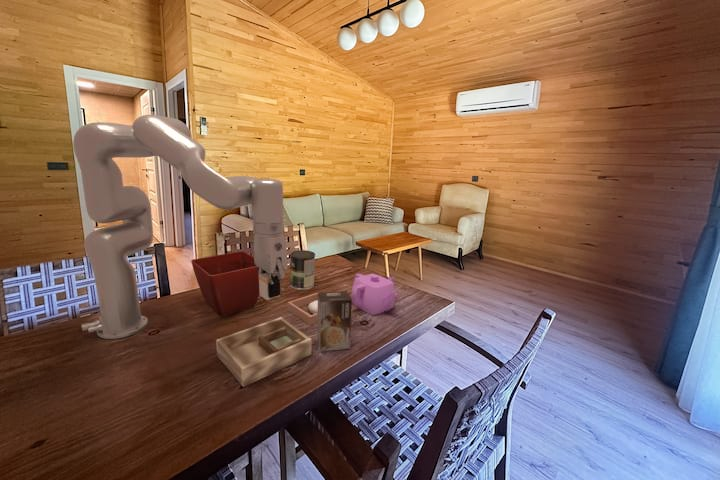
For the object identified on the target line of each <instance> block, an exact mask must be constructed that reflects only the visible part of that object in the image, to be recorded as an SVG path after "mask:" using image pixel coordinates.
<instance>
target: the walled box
mask: <svg viewBox="0 0 720 480" xmlns="http://www.w3.org/2000/svg"><path fill="white" fill-rule="evenodd" d="M312 342H313V341H312V338H310V336H307V334H305V333H304V332H303V331H301V330H300V329H298V328H296V327H295V326H294V325H293V324H291V322H288V321H287V320H286V319H285V318H283V317H282V316H279V317H278V318H277V317H276V318H274V319H272V320H269V321H266V322H263V323H260V324H257V325H254V326H251V327H248V328H246V329H243V330H240V331H237V332H234V333H231V334H229V335H226V336H222V337H220V338H217V339H215V344H216V356H217V357H218V359H219V360H220V361H221V362H222V363H223V365H225V367H226V369H227V370H229V372H230V373H231V375H232V376H233V377H234V378H235V379H236V380H237V382H238V383H239V384H240V385H241V386H242V387H243V388H245V387H247V386H249V385H251V384H253V383H255V382H258V381H259V380H261V379H264V378H265V377H268V376H270V375H272V374H274V373H276V372H279V371H281V370H283V369H285V368H287V367H289V366H291V365H293V364H295V363H297V362H300V361H301V360H303V359H305V358H308V357H309V356H312V344H313V343H312Z"/></svg>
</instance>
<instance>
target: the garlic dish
mask: <svg viewBox="0 0 720 480" xmlns="http://www.w3.org/2000/svg"><path fill="white" fill-rule="evenodd" d="M318 293H319V292H316V293H312V294H309V295H307V296H306V295H305V296H303V297H300V298H297V299H294V300H290V301H288V302H287V311H289V312H290V313H292V314H293V315H295V316H296V317H297V318H299V319H301V320H302V321H303V322H305V323H306V324H307V325H309V326H312V325H314V324H317V318H318V313H316V314H313V313H312V314H309V313H308V312H306V311H304V309H301V308H300V307H304V306H306V305H309V304H310V303H312V302H314V301H316V300H318Z"/></svg>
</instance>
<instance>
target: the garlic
mask: <svg viewBox="0 0 720 480" xmlns="http://www.w3.org/2000/svg"><path fill="white" fill-rule="evenodd" d="M307 307H308V311H309V312H310V313H311V314H312V315H313V314H316V313H318V300H316V301H314V302H312V303H310V304H308V306H307Z"/></svg>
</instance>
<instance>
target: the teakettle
mask: <svg viewBox="0 0 720 480" xmlns="http://www.w3.org/2000/svg"><path fill="white" fill-rule="evenodd" d="M353 280H354V281H353V284H352V289H351V293H350V297H351V299H352V304H353V306H355V307H356V308H358V309H360V310H361V311H363V312H365V313H367V314H369V315H371V314H372V315H371V316H377V314H378V315H380V314H379V313H381V314H383V313H385V312H384V311H386V312H388V311H390V310H389V309H391V308H392V309H394V306H395V304H396V298H397V297H398V295H399V293H397V292H396V289H395V284H394V281H395V278H394V277H393V276H389V277H388V278H386V277H383V276H381V275H379V274H375V273H370V274H365V275H364V274H361V273H356V274H354V278H353ZM392 309H391V310H392ZM387 310H388V311H387ZM382 312H383V313H382Z"/></svg>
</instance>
